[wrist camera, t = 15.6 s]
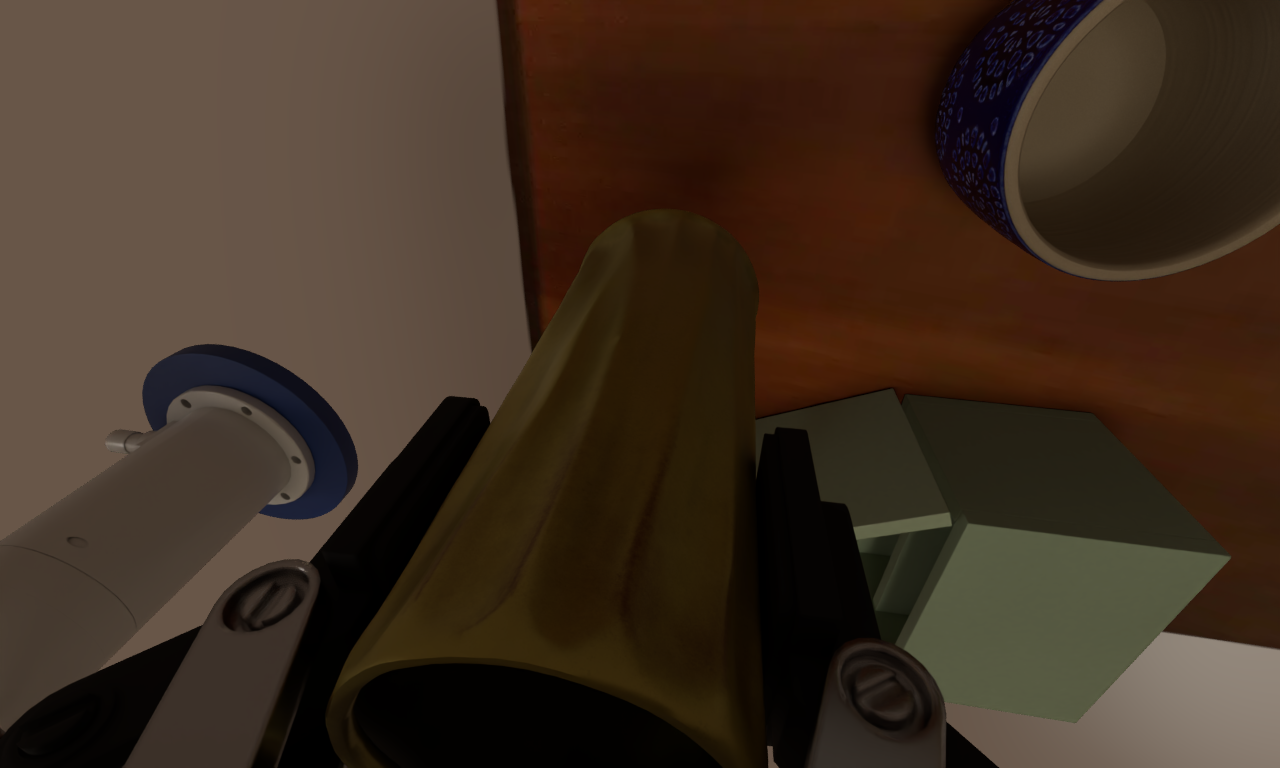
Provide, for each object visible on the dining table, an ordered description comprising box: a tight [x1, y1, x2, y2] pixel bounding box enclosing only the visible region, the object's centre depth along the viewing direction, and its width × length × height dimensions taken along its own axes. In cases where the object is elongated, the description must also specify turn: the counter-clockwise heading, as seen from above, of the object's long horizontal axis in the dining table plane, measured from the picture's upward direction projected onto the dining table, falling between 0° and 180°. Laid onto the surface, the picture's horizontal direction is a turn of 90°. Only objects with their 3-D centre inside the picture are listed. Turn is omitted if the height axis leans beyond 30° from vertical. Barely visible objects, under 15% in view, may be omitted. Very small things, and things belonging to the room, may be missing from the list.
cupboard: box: [857, 394, 1231, 723], centre depth 36 cm, size 12×16×12 cm
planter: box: [935, 0, 1280, 281], centre depth 22 cm, size 11×11×11 cm
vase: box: [325, 209, 768, 768], centre depth 12 cm, size 6×6×14 cm
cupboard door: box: [755, 388, 952, 540], centre depth 33 cm, size 7×16×12 cm, turn 112°
